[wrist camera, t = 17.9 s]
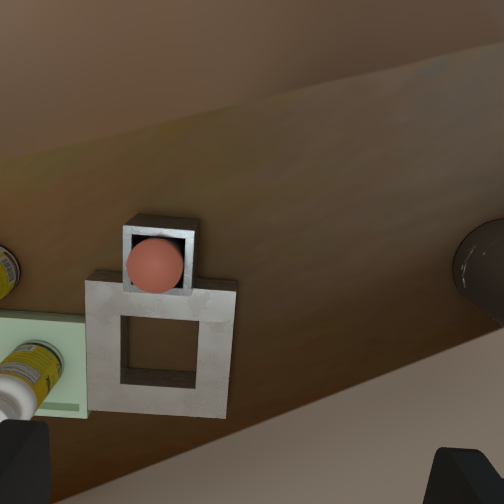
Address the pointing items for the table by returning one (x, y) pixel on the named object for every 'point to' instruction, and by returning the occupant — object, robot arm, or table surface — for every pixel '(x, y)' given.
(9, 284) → the supplement bottle
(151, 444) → the table surface
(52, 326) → the tray
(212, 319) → the housing
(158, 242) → the plunger
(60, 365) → the supplement bottle
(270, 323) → the table surface
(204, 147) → the table surface
